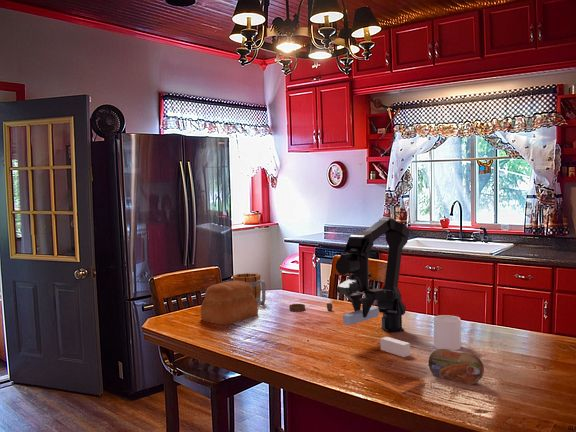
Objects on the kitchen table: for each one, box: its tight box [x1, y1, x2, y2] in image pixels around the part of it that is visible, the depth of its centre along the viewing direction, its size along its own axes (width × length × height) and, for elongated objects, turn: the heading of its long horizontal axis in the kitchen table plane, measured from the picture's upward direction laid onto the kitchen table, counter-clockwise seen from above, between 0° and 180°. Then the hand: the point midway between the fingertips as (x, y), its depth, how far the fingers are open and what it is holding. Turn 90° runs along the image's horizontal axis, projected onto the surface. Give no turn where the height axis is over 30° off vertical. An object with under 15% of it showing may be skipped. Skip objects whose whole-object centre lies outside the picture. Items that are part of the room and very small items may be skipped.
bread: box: [200, 280, 259, 326], centre depth 217 cm, size 18×22×17 cm
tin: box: [428, 349, 485, 386], centre depth 143 cm, size 15×3×8 cm, turn 51°
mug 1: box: [231, 272, 267, 305], centre depth 244 cm, size 20×14×15 cm
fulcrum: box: [380, 336, 411, 358], centre depth 166 cm, size 11×12×5 cm
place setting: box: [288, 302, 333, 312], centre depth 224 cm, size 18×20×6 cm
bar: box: [342, 306, 380, 326], centre depth 177 cm, size 16×3×3 cm, turn 134°
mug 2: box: [432, 314, 462, 351], centre depth 172 cm, size 9×12×11 cm
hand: (361, 316), depth 177 cm, fingers closed on bar, 3 cm apart
